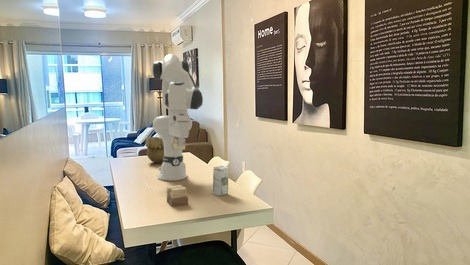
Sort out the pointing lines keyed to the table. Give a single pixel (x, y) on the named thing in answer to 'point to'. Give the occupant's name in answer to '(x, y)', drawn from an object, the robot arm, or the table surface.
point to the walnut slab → (177, 201)
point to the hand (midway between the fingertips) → (178, 145)
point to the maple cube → (175, 144)
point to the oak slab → (176, 191)
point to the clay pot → (155, 149)
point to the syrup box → (220, 180)
